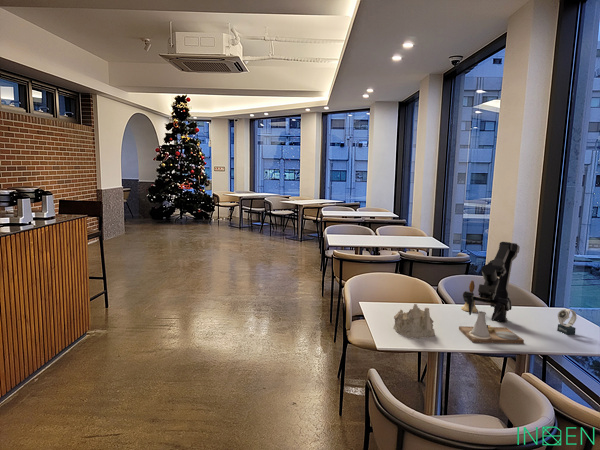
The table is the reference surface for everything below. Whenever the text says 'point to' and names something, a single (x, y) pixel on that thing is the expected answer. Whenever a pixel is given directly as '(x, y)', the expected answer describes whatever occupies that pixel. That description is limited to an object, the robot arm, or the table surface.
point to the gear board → (492, 335)
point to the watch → (568, 327)
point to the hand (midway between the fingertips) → (480, 317)
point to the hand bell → (466, 306)
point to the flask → (480, 326)
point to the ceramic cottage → (414, 323)
